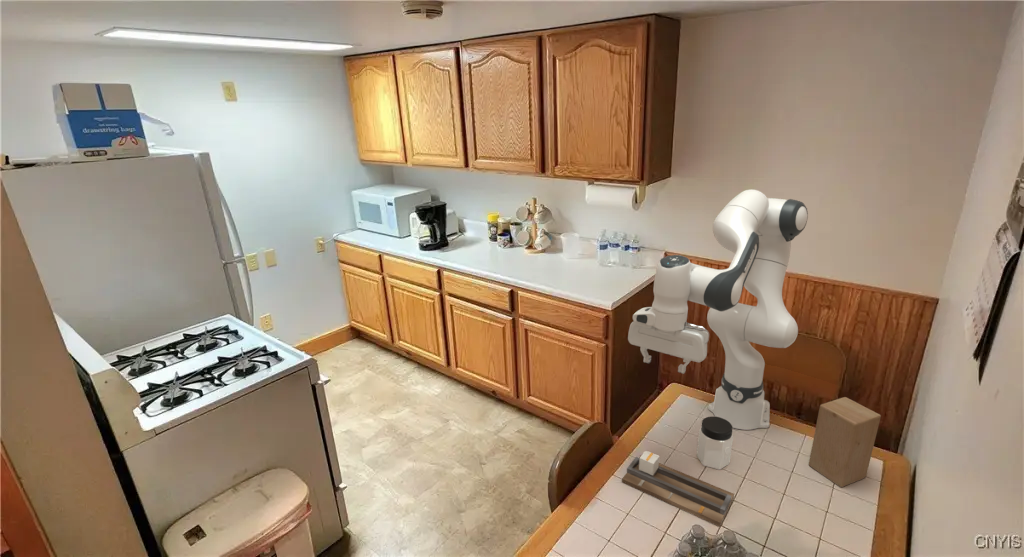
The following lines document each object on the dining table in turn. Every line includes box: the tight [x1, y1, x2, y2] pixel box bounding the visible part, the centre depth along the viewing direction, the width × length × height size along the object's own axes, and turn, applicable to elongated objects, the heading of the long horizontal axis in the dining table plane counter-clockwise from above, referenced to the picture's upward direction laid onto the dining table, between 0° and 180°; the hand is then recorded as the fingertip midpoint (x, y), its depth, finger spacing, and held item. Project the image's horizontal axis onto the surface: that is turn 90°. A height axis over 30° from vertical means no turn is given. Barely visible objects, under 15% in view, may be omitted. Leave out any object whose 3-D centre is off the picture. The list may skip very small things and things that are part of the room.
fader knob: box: [639, 450, 660, 477], centre depth 137 cm, size 4×4×6 cm
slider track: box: [621, 455, 735, 528], centre depth 133 cm, size 12×26×3 cm, turn 52°
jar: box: [696, 415, 734, 470], centre depth 143 cm, size 9×8×12 cm
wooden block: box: [808, 396, 882, 488], centre depth 135 cm, size 10×10×20 cm
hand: (664, 367), depth 132 cm, fingers open, 8 cm apart
